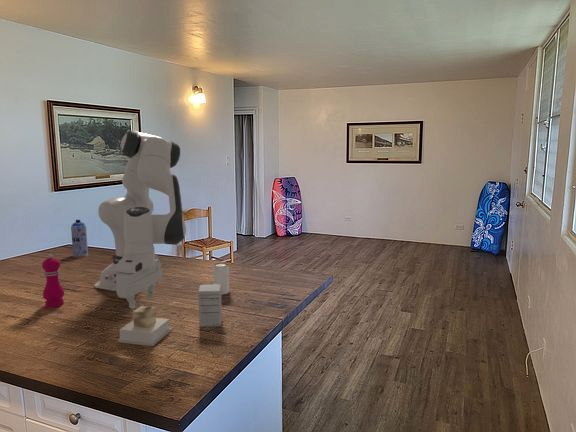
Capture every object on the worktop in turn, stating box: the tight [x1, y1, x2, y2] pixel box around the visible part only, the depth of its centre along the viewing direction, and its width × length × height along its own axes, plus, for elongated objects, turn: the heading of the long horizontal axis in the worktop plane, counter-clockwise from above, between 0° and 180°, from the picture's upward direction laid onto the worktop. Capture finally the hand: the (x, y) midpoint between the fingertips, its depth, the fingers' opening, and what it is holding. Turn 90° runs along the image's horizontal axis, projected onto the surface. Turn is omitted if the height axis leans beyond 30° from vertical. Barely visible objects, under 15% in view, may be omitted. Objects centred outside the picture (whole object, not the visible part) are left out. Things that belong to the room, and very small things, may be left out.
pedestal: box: [117, 317, 173, 347], centre depth 140 cm, size 12×12×4 cm
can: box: [212, 262, 230, 296], centre depth 181 cm, size 6×6×12 cm
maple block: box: [132, 305, 157, 328], centre depth 139 cm, size 5×5×5 cm
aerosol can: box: [70, 219, 89, 258], centre depth 242 cm, size 8×8×20 cm
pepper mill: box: [41, 253, 65, 309], centre depth 166 cm, size 7×7×20 cm
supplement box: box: [197, 283, 223, 328], centre depth 150 cm, size 7×7×13 cm
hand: (141, 302), depth 138 cm, fingers open, 8 cm apart
